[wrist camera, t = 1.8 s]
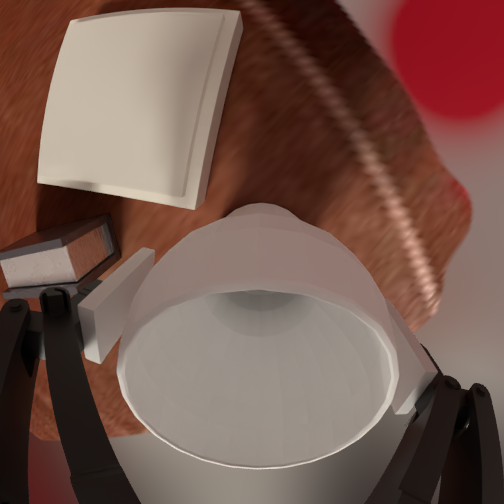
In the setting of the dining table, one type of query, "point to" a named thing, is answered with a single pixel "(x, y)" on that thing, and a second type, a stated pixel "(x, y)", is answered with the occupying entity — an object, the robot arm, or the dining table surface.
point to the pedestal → (139, 103)
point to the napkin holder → (60, 257)
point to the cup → (258, 344)
